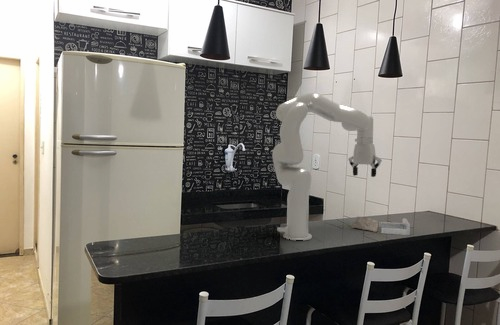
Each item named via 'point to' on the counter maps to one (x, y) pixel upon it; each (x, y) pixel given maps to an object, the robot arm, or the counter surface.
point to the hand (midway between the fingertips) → (364, 176)
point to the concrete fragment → (365, 224)
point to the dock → (391, 227)
